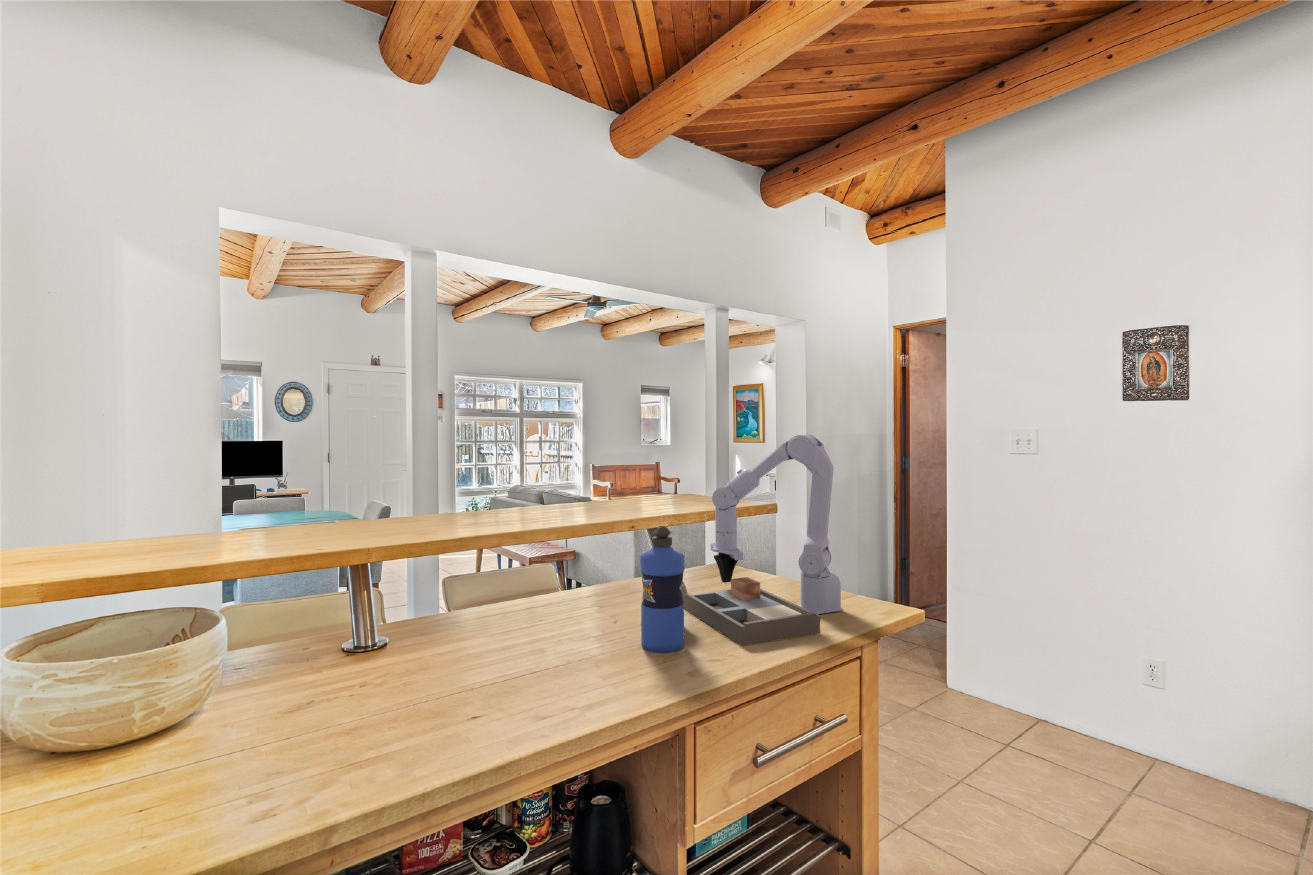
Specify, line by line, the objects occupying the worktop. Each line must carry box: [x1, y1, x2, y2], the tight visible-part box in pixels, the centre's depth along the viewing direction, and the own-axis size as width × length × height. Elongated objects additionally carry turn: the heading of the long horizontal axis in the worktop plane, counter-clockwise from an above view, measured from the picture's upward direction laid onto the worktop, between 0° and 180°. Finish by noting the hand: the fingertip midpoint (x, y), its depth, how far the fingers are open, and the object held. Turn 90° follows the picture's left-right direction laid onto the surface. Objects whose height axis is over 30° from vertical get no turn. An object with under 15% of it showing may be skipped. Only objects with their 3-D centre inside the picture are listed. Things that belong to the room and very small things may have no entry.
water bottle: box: [639, 526, 685, 654], centre depth 127 cm, size 9×9×25 cm
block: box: [730, 576, 761, 600], centre depth 153 cm, size 5×6×4 cm
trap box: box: [684, 588, 821, 647], centre depth 144 cm, size 20×30×4 cm, turn 22°
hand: (726, 581), depth 163 cm, fingers closed
